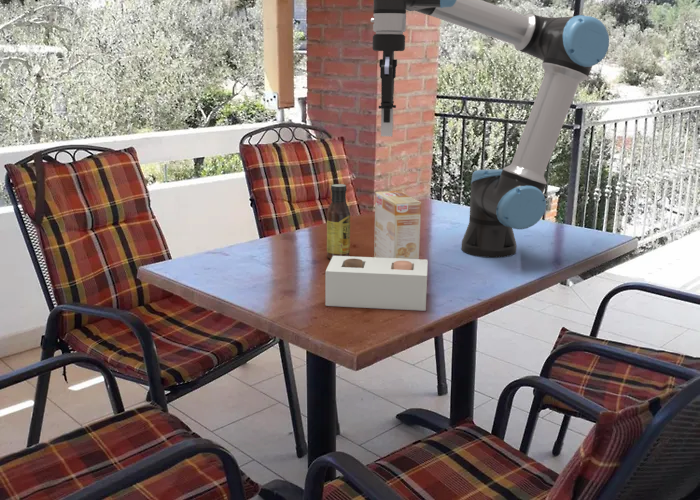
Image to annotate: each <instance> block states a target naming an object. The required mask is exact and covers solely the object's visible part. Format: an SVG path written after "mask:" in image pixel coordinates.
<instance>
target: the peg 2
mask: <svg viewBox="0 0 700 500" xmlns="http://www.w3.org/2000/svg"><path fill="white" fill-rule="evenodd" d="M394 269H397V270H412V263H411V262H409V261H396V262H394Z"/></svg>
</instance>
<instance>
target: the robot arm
mask: <svg viewBox="0 0 700 500" xmlns="http://www.w3.org/2000/svg"><path fill="white" fill-rule="evenodd" d="M407 11H409V12H412V11H415V12H418V13H421V14H423V15H426V16H431V17H433V18H436V19H439V20H441V21H445V22H448V23H451V24H453V25H456V26H459V27H462V28H465V29H468V30H471V31H473V32H476V33H479V34H482V35H485V36H488V37H491V38H492V39H493V38H494V39H497V40H500V41H503V42H505V43H509V44H512V45H513V46H514V48H515V50H516V51H519V52H522V53H524V54H526V55H529V56H532V57H534V58H537V59H538V60H542V65H541V66H542V67H543V70H544V76H543V79H542V81H541V84H540V86H539V89H538V92H537V94H536V97H535V100H534V103H533V104H532V107H531V110H530V113H529V116H528V119H527V121H526V124H525V126H524V128H523V132H522V134H521V137H520V140H519V143H518V145H517V147H516V150H515V152H514V155H513V159H512V161H511V163H510V164H508V165H507V166H504V167H503V168H498V169H496V168H494V169H491V168H489V169H488V168H487V169H477V170H475V171H473V172H472V176H471V180H470V199H469V200H470V201H469V202H470V203H469V221H468V225H467V227H466V230H465V232H464V234H463V238H462V240H461V251H462V252H463V253H466V254H467V255H471V256H475V257H482V258H490V259H491V258H496V259H497V258H506V257H510V256H513V255H515V254H516V253H517V241H516V238H515V234H514V230H525V229H529V228H531V227H533V226H535V225H536V224H537V223H538V222H540V221H541V219H542V218H543V216H544V214H545V212H546V209H547V201H546V197H545V195H544V192H545V189H546V186H547V183H548V182H547V180H546V178H545V173H546V170H547V168H548V167H547V166H548V164H549V162H550V159H551V157H552V155H553V152H554V148H555V146H556V144H557V141H558V139H559V136H560V134H561V130H562V128H563V125H564V123H565V121H566V117H567V116H568V113H569V111H570V107H571V105H572V102H573V100H574V97H575V94H576V92H577V90H578V86H579V85H580V84H581V83H582V82H584V81H586V80H588V78H589V75H590V73H591V71H592V68H593V66H595V65H597V64H599V63H601V62H602V60H603V59H604V58H605V57H606V55H607V54H608V50H609V47H610V36H609V32H608V30H607V28H606V25H604V23H603V22H602V21H601V20H600V19H598V18H596V17H594V16H591V15H584V14H581V15H573V16H561V17H559V16H558V17H547V16H540V15H538V14H534V13H531V12H529V13H527V14H526V15H524V14H522V13H520V12H519V13H518V12H516V11H513V10H510V9H508V8H504V7H503V6H499V5H497V4H493V3H490V2H489V1H485V0H373V16H372V17H371V18H370V23H373V25H372V31H373V32H375V34H373V35H372V50H373V51H375V52H382V59H379V65H378V66H379V68H380V69H379V70H380V71H379V72H380V75H379V77H380V79H381V80H380V81H381V82H380V85H381V86H380V87H381V89H380V91H381V96H380V97H381V98H380V99H381V101H380V105H378V109H380V110H381V111H380V113H381V114H380V118H381V119H380V137H393V132H394V131H393V128H394V127H393V126H394V123H393V121H394V109H397V105H396V104H394V102H395V100H394V95H395V94H394V91H395V79H396V77H397V73H396V70H397V66H398V59H395V52H404V51H405V50H406V36H405V34H404V33H405V32H406V30H407V29H406V28H407Z"/></svg>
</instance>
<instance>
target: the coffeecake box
mask: <svg viewBox="0 0 700 500" xmlns="http://www.w3.org/2000/svg"><path fill="white" fill-rule="evenodd" d="M374 195H375V197H374V198H375V203H374V204H375V205H374V206H375V207H374V242H373V243H374V247H373V251H374V252H373V254H374V255H373V257H377V258H401V259H420V243H421V242H420V241H421V221H422V220H421V219H422V218H421V217H422V216H421V215H422V213H421V212H422V202H421V201H419V200H418V199H415V198H414V197H411V196H410V195H408V194H406V193H405V192H403V191H401V190H390V191H389V190H388V191H375V194H374Z"/></svg>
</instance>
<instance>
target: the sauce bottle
mask: <svg viewBox="0 0 700 500" xmlns="http://www.w3.org/2000/svg"><path fill="white" fill-rule="evenodd" d="M347 189H348V188H347V185H346V184H343V183H339V184H338V183H336V184H335V183H334V184H331V186H330V190H331V202H330V204H329V206H328V208H327V211H326V215H327V216H326V218H327V219H326V254H327V255H326V257H327V258H328V259H329V260H331V259H332V257H333V256H350V253H351V249H350V248H351V213H350V209H349V207H348V204H347V198H346V197H347V195H346V194H347Z"/></svg>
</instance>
